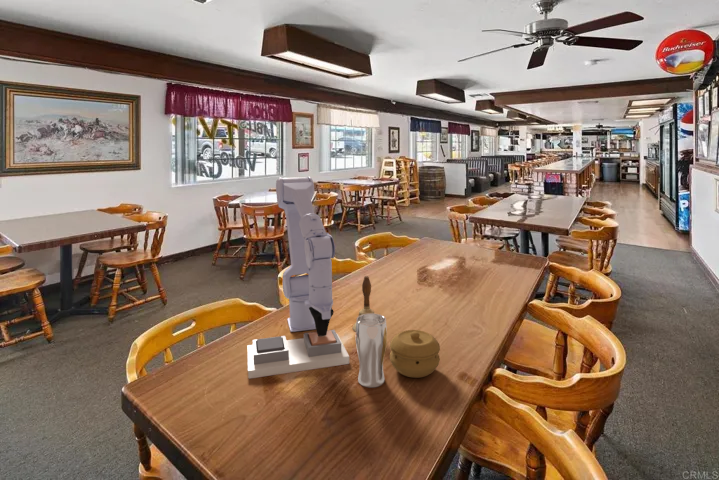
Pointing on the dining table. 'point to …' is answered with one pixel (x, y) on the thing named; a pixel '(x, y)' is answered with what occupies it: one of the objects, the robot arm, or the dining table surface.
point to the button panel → (295, 357)
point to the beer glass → (371, 348)
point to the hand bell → (365, 298)
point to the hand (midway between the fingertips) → (321, 334)
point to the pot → (414, 353)
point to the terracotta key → (321, 338)
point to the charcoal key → (269, 344)
